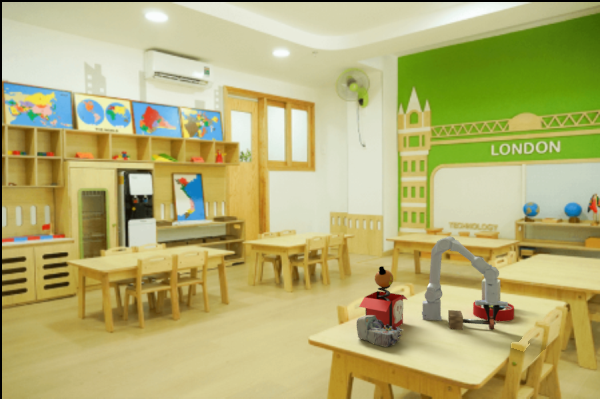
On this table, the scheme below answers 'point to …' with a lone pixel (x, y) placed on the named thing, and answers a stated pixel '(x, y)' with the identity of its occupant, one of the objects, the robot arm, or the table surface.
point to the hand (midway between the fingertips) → (491, 320)
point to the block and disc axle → (481, 322)
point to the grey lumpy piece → (377, 331)
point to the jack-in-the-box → (384, 301)
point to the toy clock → (502, 314)
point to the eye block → (455, 319)
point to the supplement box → (484, 289)
